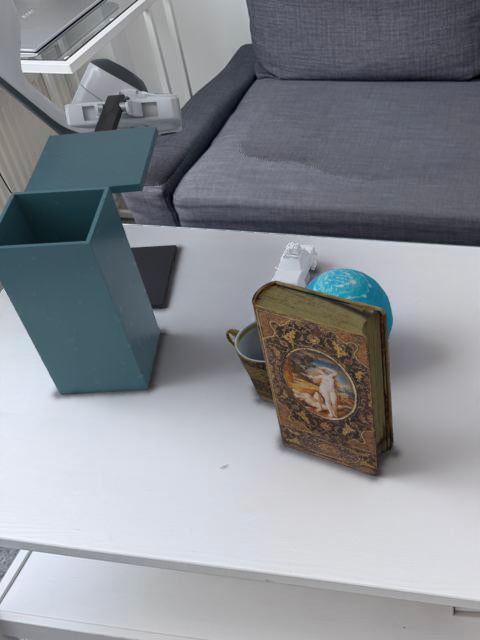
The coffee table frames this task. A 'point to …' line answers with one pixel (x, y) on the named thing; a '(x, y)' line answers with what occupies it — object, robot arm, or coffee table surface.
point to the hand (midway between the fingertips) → (111, 108)
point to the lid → (97, 156)
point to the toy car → (296, 264)
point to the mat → (155, 270)
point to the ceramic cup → (252, 358)
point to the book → (327, 373)
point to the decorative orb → (353, 289)
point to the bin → (78, 289)
